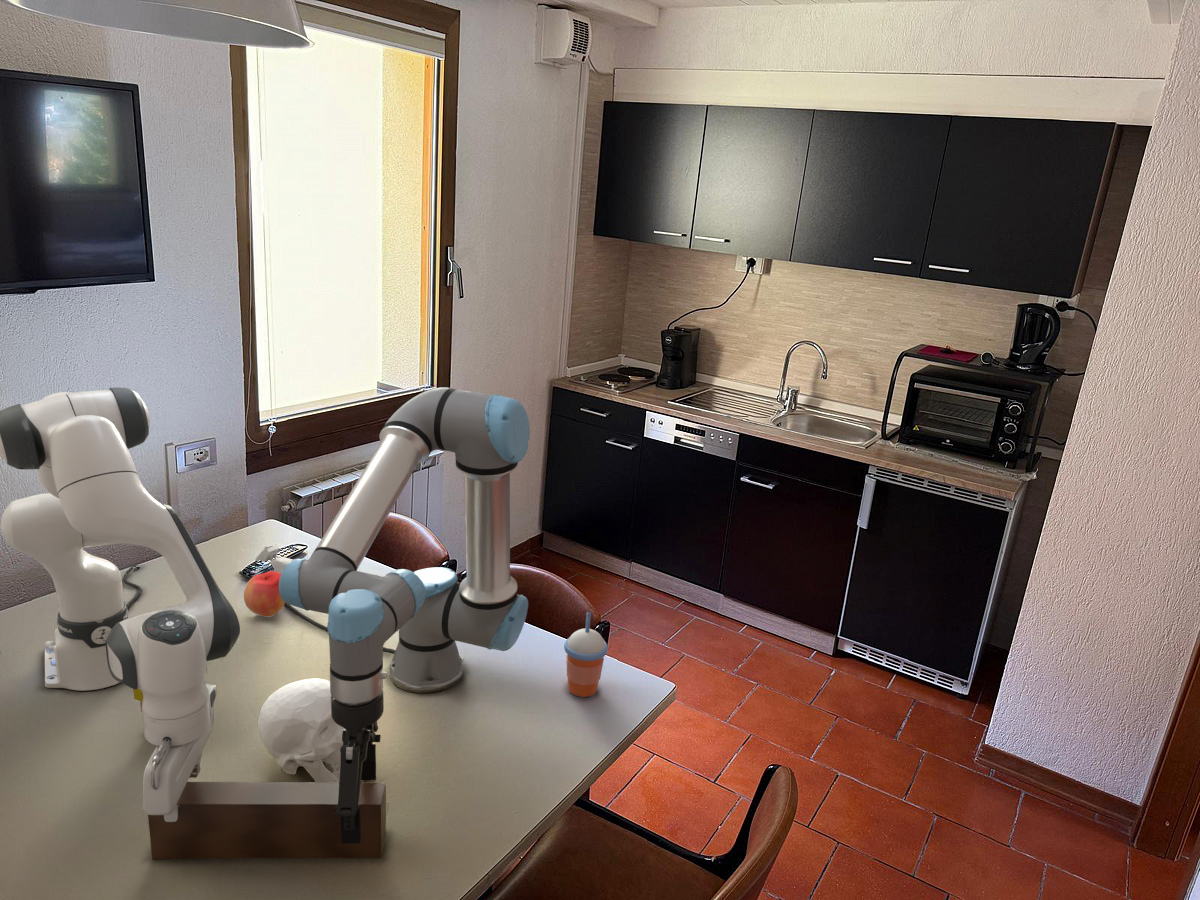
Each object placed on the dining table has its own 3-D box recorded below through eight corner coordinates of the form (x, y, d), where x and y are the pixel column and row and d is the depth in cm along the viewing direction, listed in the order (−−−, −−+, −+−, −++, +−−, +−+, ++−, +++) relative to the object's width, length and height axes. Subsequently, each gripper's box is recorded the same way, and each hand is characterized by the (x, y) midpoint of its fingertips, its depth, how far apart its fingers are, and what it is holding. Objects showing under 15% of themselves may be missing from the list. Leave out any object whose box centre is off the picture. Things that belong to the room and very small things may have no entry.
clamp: (253, 565, 223) (254, 542, 221) (265, 560, 226) (266, 537, 224) (309, 593, 215) (310, 569, 213) (320, 588, 218) (321, 564, 216)
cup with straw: (599, 704, 176) (605, 627, 171) (556, 696, 178) (561, 619, 172) (607, 681, 185) (614, 606, 179) (566, 673, 186) (572, 599, 181)
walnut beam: (151, 858, 129) (146, 804, 126) (165, 834, 134) (160, 781, 131) (381, 857, 133) (381, 804, 130) (385, 834, 138) (386, 782, 135)
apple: (273, 600, 207) (272, 562, 204) (297, 613, 202) (296, 575, 199) (237, 614, 200) (234, 575, 197) (261, 628, 194) (259, 588, 191)
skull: (353, 805, 143) (354, 722, 139) (242, 771, 149) (240, 691, 144) (394, 760, 155) (396, 682, 151) (290, 730, 161) (289, 655, 157)
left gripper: (175, 765, 116) (182, 846, 120) (219, 679, 135) (224, 752, 140) (126, 765, 115) (134, 848, 119) (177, 679, 134) (183, 752, 139)
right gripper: (368, 746, 115) (370, 871, 122) (395, 647, 138) (395, 756, 145) (311, 746, 114) (316, 872, 121) (347, 646, 138) (350, 755, 144)
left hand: (183, 795), depth 130 cm, fingers open, 8 cm apart
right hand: (359, 809), depth 133 cm, fingers open, 13 cm apart
